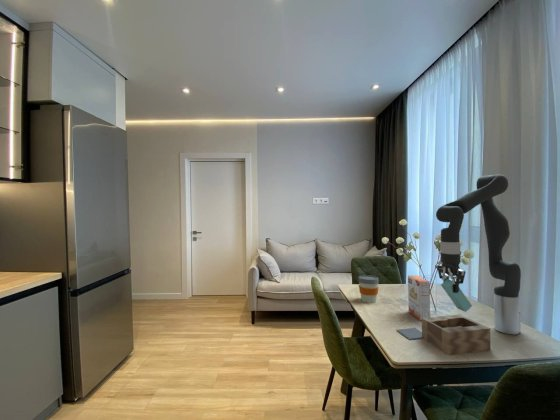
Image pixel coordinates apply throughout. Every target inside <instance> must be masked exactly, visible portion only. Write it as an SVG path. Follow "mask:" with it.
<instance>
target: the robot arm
mask: <svg viewBox="0 0 560 420" xmlns="http://www.w3.org/2000/svg"><path fill="white" fill-rule="evenodd" d="M475 186H476V189H475V190H472V191H469V192H466V193H465V194H463V195H461V196H460V197H458V198H457V199H455V200H453V201H451V202H448V203H445V204H442V205H441V206H439V208H438V209H437V210H436V212H435V213H436V214H435V217H436V219H437V220H438V221H439V222H441V223H449V224H448V227H443V228H441V229H440V249H439V250H440V251H439V252H440V253H439V255H440V263H442V264H437V266H436V268H437V272H438V276H439V279H441V280H442V283H443V282H444V281H445V280H446V279H449V280H452V282H453V293H458V292H459V288H460V286H459V285H461V284H462V285H463V284H464V280H465V277H466V270H462V269H460V264H461V262H462V261H461V244H460V232H461V229H462V228H461V227H462V224H463V221H464V217H465V215H464V214H467V213H468V212H470V211H472V210H473V209H474V208H475V207H477V206H479V205H480V206H481V211H482V216H483V222H484V223H483V224H484V225H483V226H484V230H485V231H484V232H485V235H486V241H487V249H488V269H489V273H490V275H491V277H492V278H494V279H496V280H500V281H503V282H504V284H503V285H500V286H495V287H494V289H493V301H494V304H493V305H494V306H493V308H494V309H493V310H494V311H493V312H494V318H493V320H494V321H493V322H494V330H496V331H497V332H500V333H503V334H508V335H518V334H520V333H521V332H522V331H521V329H522V328H521V326H522V325H521V312H520V311H519V309H520V307H519V306H520V305H519V304H520V303H519V301H520V300H519V294H520V290H521V279H522V271H521V268H520V266H519V264H518V263H516V262H511V261H506V260H503V253H502V252H503V249H504V246H505V245H506V243H507V241H508V239H509V238H510V235H511V233H510V225H509V220H508V218H507V217H506V216H505V215H504V213H502V211H501V210H500V209H499V208H498V207H497V205H496V204H495V201H494V197H496V196H499V195H501V194H503V193H505V192H506V191H507V189H508V187H509V180H508V178H507V177H506V175H504V174H489V175H482V176H479V177H478V178H477V180H476V185H475Z"/></svg>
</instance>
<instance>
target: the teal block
mask: <svg viewBox="0 0 560 420" xmlns="http://www.w3.org/2000/svg"><path fill="white" fill-rule="evenodd" d="M440 286H441V287H442V289H443V290H444V291H445V293H446V294H447V296H448V297H449V299H450V300H451V302H453V304H454V305H455V307H456V308H457V309H458V310H460V311H463V312H465V313H467V311H469V310H470V309H471V308H472V307H473V305H472V303H471V302H470V301H469V299H468V297H466V295H465V293H464V292H463V291H462V290H461V288H460V287H459V292H458V293H453V282H452V279H450V278H449V279H446V280H445V281H444V282H443V281H442V283H441V284H440Z"/></svg>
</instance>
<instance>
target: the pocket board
mask: <svg viewBox="0 0 560 420" xmlns="http://www.w3.org/2000/svg"><path fill="white" fill-rule="evenodd" d="M421 332H422V337H423V340H425V341H426V342H428V343H429V344H430V345H432V346H434V347H436V348H437V349H438V350H440V351H441V352H443V353H444V354H446V355H449V356H450V355H451V356H452V355H460V354H468V353H475V352H476V353H477V352H485V351H491V328H490V327H488V326H486V325H484V324H481V323H479V322H477V321H475V320H473V319H471V318H468V317H467V316H464V315H462V314H450V315H441V316H430V317H428V318H422V320H421Z"/></svg>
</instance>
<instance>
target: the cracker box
mask: <svg viewBox="0 0 560 420" xmlns="http://www.w3.org/2000/svg"><path fill="white" fill-rule="evenodd" d="M430 284H431V283H430V281H429V280H427V279H425V278H423V277H421V276H419V275H417V274H415V275H407V298H408V299H407V301H408V304H407V305H408V307H407V308H408V312H409V313H411V314H412V315H413V316H414V317H415V318H416V319H417V320H419V321H422V318H428V317H431V288H430V286H431V285H430Z"/></svg>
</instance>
